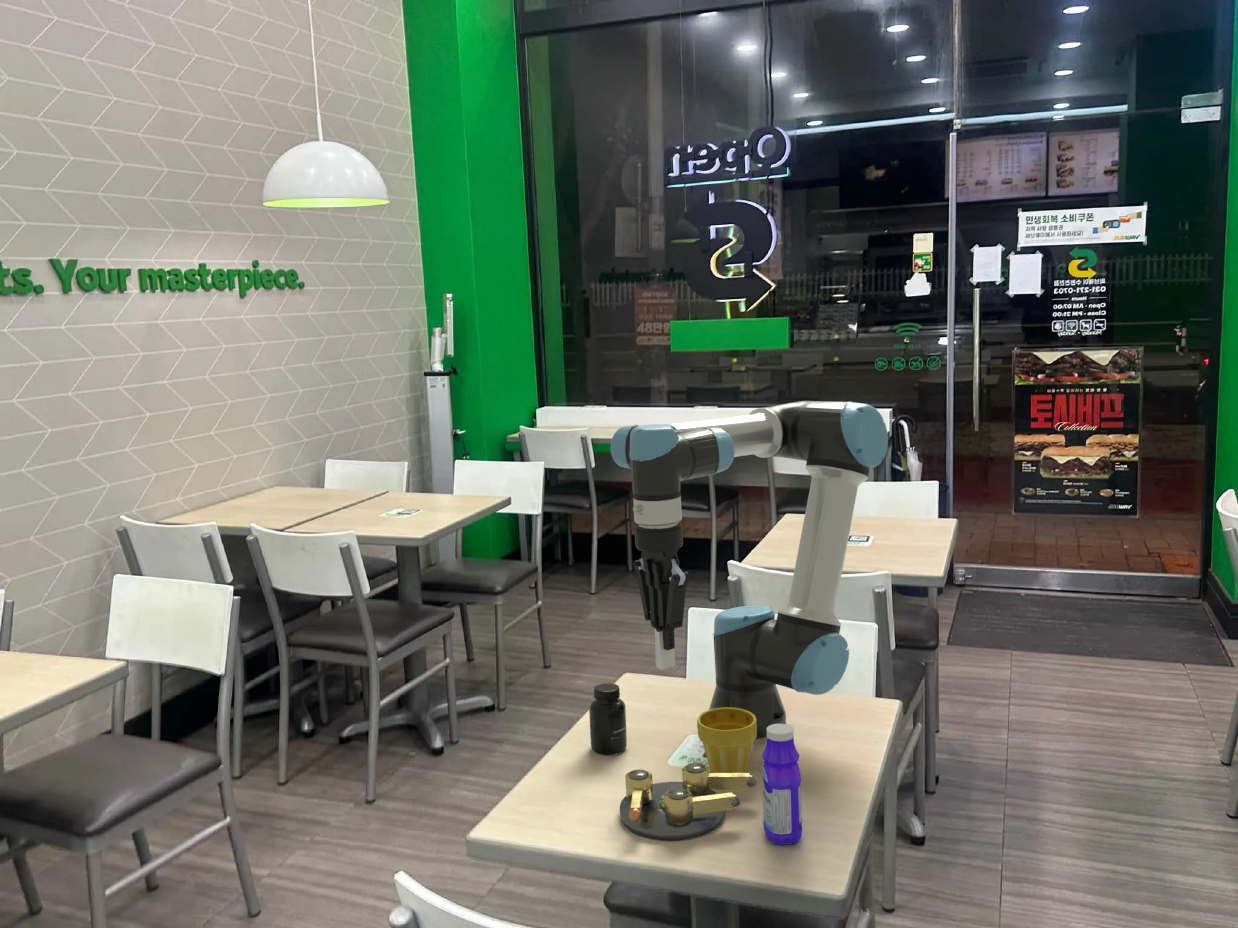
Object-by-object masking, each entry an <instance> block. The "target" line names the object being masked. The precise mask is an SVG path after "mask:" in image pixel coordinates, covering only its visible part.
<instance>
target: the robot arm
mask: <svg viewBox="0 0 1238 928" xmlns="http://www.w3.org/2000/svg"><path fill="white" fill-rule="evenodd" d="M888 435H889V434H888V429H887V426H886V422H885V421H884V417H883V415H882V414H881V413H880V411H879V410H878V409H876V407H874V406H872V405H870V404H868V403H861V402H854V401H819V400H817V401H814V400H801V401H800V400H799V401H793V402H788V403H787V402H786V403H782V404H777V405H772V406H766V407H759V408H756V409H753V410H751V411H750V412H749V414H743V415H742V414H741V415H737V416H736V415H735V416H727V417H719V418H718V417H717V418H708V419H707V418H706V419H700V420H699V419H698V420H689V421H681V422H673V423H672V422H670V423H655V424H645V425H638V424H633V425H623V426H621V427H620V428H618V429H617V430H616V431H615V433H614V434H613V436H612V438H611V441H610V454H611V458H612V459H613V462H615V464H617V466H619V467H621V468H624V469H629V470H630V474H631V488H632V499H633V507H632V512H633V521H634V522H635V523H636V525H635V527H634V545H635V547H636V549H637V550H638V551H641V557H640V558H639V559H637V560H634V561H633V568H634V571H635V574H636V576H637V583H638V588H639V593H640V599H641V603H642V604H641V605H642V610H643V615H644V620H645V621H646V622H647V621H649V622H650V625H651V627H653V642H654V648H655V649H654V652H655V653H654V654H655V667H656V669H658V670H660V671H662V670H665V669H666V670H667V669H669V668H673V667H674V668H675V667H676V658H675V657H676V656H675V647H676V644H675V629H677V628H681V627H683V622H684V612H685V604H686V594H687V593H686V591H687V585H688V582H689V580H690V573H689V572H688V571H684V572H683V571H682V569H681V568H680V567H679V566H680V560H679V557H678V551H679V549H681V548H682V547H683V544H684V539H683V538H684V537H683V533H684V532H683V525H682V524H681V521H682V520H683V513H682V512H683V511H682V497H681V496H682V495H681V482H684V481H687V480H692V479H696V478H701V477H707V476H714V475H716V474H718V473H722V472H723V471H726V470H728V469H729V468H730V467H731V466H732V463H733V461H734V460H735V458H737V457H742V456H743V457H744V456H749V455H751V456H752V455H755V456H756V457H758V458H762V459H763V458H764V459H765V458H774V457H775V458H783V459H791V460H797V461H804V462H806V464H805V469H806V470H807V472H808V474H809V475H810V477H811V480H810V481H811V482H810V485H809V487H810V488H809V490H808V491H809V493H808V497H807V502H806V508H805V514H804V518H803V523H802V528H801V533H800V537H799V538H800V539H799V544H798V550H797V555H796V560H795V566H794V570H793V571H794V572H793V577H792V581H791V586H790V592H789V597H788V602H787V604H786V605H785V606H783V607H782V608H781V609H779V610H778V612H777V616H776V613H775V611H774V609H773V607H771V606H767V605H762V604H761V605H758V604H757V605H754V604H753V605H752V604H751V605H744V606H742V605H741V606H737V607H731V608H729V609H725V610H723V611H721V612H719V613H718V614H717V615H716V616H715V618H714V623H713V633H712V636H713V647H714V648H713V649H714V651H713V653H714V668H715V669H714V670H715V671H714V673H715V688H714V691H713V695H712V698H711V701H710V705H709V708H708V710H711V709H715V708H724V707H732V708H740V709H744V710H747V711H749V712H751V713H753V714H754V715H755V717H756V719H757V737H756V739H760V738H767V727H768V726H770V725H772V724H787V713H786V710H785V707H784V704H783V702H782V701H783V700H782V698H781V696H780V693H779V690H778V687H777V685H778V686H781V687H784V688H788V689H791V690H794V691H796V692H797V693H806V694H810V695H815V696H819V695H824V694H826V693H829V692H830V691H832V689H834V688H835V686H837V685H838V684H839V683H840V681H841V680H842V678H843V676H844V674H845V673H846V669H847V667H848V664H849V658H850V649H849V648H848V646H849V645H848V642H847V639H846V638H845V637H843V635H842V634H840V633H841V628H842V627H841V626H842V623H841V622H840V620H839V619H838V617H837V616H836V613H835V612H836V606H837V602H838V595H839V590H840V585H841V580H842V574H843V569H844V564H845V558H846V552H847V549H848V543H849V537H850V531H851V526H852V522H853V521H852V520H853V515H854V509H855V504H856V499H857V494H858V489H859V486H861V484H862V483H864V482H865V481H867V480H868V479H869V475H870V474H869V473H870V470H871V469H872V468H875V467H878V466H880V465H881V463H882V462H883V460H884V459H885V457H886V455H887V451H888V447H889V446H888V445H889V437H888ZM775 616H776V619H775Z"/></svg>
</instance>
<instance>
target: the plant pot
mask: <svg viewBox="0 0 1238 928" xmlns="http://www.w3.org/2000/svg"><path fill="white" fill-rule="evenodd" d="M696 719H697V720H696V728H697V735H698V739H699V741H701V743H702V745H703V748H704V753H705V757H706V761H707V764H708V768H709V773H748V769H749V766H750V765H749V764H750V760H751V759H750V758H751V753H752V749H753V743H754V742H755V740H756V739H757V738H756V737H757V719H756V717H755V715H754V714H753V713H751V712H749V711H747V710H744V709H740V708H732V707H724V708H715V709H711V710H709V709H707V710H705V711H704V712H701V713H700V714H699V715H698V716H697V718H696Z"/></svg>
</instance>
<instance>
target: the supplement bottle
mask: <svg viewBox="0 0 1238 928" xmlns="http://www.w3.org/2000/svg"><path fill="white" fill-rule="evenodd" d="M593 699H594V700H592V701H591V702H590V703H589V705H588V706H589V709H588V711H589V715H588V716H589V734H590V735H589V738H590V749H591V750H592V752H594V753H596V754H597V755H604V756H613V755H617V754H620V753H622V752H624V751H625V750H626V748H627V745H628V743H627V742H628V739H627V738H628V737H627V734H628V733H627V715H626V714H627V713H626V703H625V701H624V700H623V699H621V693H620V686H619V685H618V684H616V683H609V682H608V683H607V682H606V683H600V684H596V685H595V686H594V687H593Z"/></svg>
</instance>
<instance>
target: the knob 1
mask: <svg viewBox="0 0 1238 928" xmlns="http://www.w3.org/2000/svg"><path fill="white" fill-rule="evenodd" d="M624 778H625V796H626V798H627V800H628V801H630V802H631V807H630V808H631V810H630V812H629V818H630V819H631V821H634V822H637V821H640V819H641V816H642V814H641V811H642V804H643V803H645V802H648V801H650V800H651V799H652V798H653V784H654V783H653V774H652V772H650V771H648V770H645V769H641V768H640V769H637V768H636V769H633V770H631V771H628V772H627V773H626V774H625V776H624Z"/></svg>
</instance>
